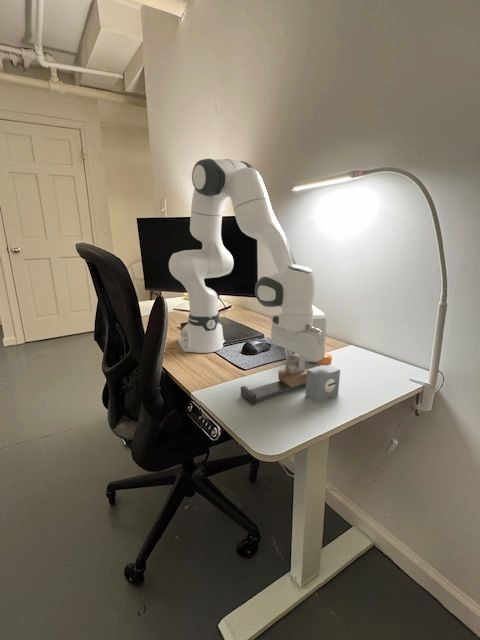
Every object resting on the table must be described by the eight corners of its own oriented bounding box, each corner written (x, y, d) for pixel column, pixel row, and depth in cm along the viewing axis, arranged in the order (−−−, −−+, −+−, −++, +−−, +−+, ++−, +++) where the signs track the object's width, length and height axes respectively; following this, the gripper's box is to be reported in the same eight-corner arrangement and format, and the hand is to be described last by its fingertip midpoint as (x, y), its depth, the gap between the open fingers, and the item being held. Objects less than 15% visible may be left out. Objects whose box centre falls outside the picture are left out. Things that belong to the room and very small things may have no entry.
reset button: (313, 361, 93) (314, 355, 92) (323, 358, 95) (324, 352, 94) (324, 366, 90) (324, 359, 89) (334, 363, 92) (334, 356, 91)
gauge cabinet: (305, 395, 95) (306, 369, 93) (325, 388, 99) (327, 363, 97) (319, 403, 91) (321, 377, 88) (339, 395, 95) (341, 370, 92)
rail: (240, 396, 95) (240, 386, 94) (304, 376, 107) (304, 367, 106) (252, 405, 90) (252, 395, 89) (317, 383, 102) (318, 374, 101)
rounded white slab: (284, 338, 144) (285, 298, 139) (301, 337, 144) (303, 297, 139) (302, 364, 116) (305, 315, 111) (323, 363, 117) (326, 315, 112)
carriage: (278, 379, 101) (278, 355, 99) (298, 373, 105) (299, 350, 103) (291, 387, 96) (292, 362, 94) (311, 380, 100) (312, 356, 98)
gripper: (331, 328, 89) (328, 375, 93) (283, 312, 106) (282, 352, 109) (314, 332, 86) (311, 380, 89) (267, 315, 102) (267, 356, 106)
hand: (295, 365), depth 99 cm, fingers closed on carriage, 3 cm apart
